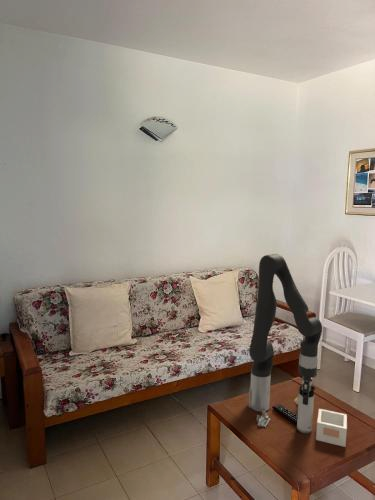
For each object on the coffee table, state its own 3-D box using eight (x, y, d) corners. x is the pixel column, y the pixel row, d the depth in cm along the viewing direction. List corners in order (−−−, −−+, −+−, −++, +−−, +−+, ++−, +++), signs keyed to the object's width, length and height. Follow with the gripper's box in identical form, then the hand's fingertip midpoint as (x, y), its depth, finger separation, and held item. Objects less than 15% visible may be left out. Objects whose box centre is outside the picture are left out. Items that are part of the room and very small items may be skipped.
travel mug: (313, 434, 162) (316, 391, 160) (297, 432, 164) (300, 389, 161) (311, 426, 169) (314, 384, 166) (296, 424, 170) (298, 382, 167)
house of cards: (253, 414, 178) (254, 398, 177) (271, 419, 174) (272, 403, 173) (246, 423, 171) (247, 407, 170) (265, 429, 166) (266, 413, 165)
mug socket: (316, 440, 159) (317, 422, 158) (318, 425, 169) (319, 408, 168) (345, 447, 154) (346, 429, 153) (345, 431, 165) (346, 414, 164)
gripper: (300, 356, 170) (299, 391, 172) (297, 369, 157) (295, 406, 159) (318, 359, 167) (316, 394, 169) (316, 372, 154) (313, 410, 156)
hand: (306, 400), depth 164 cm, fingers closed on travel mug, 6 cm apart
